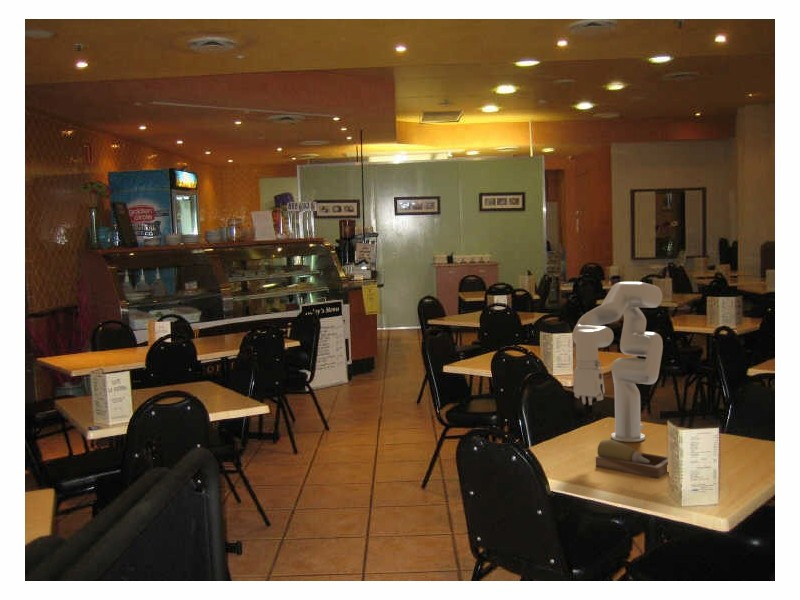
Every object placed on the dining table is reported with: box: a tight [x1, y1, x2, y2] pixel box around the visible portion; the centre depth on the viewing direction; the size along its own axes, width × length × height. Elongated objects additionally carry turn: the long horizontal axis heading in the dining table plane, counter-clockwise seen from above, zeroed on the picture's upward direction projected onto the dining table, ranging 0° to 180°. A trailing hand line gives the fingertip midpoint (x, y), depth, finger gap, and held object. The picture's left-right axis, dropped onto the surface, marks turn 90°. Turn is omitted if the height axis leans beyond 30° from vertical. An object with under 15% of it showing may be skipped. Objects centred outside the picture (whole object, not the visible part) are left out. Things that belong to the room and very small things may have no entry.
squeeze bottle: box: [596, 439, 650, 464], centre depth 258 cm, size 8×8×18 cm
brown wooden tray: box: [595, 452, 669, 480], centre depth 256 cm, size 13×22×4 cm, turn 48°
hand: (589, 414), depth 267 cm, fingers closed
